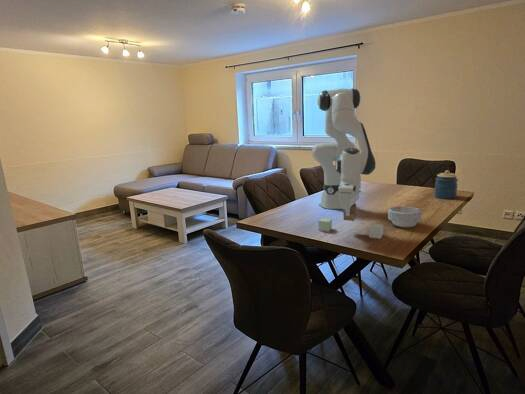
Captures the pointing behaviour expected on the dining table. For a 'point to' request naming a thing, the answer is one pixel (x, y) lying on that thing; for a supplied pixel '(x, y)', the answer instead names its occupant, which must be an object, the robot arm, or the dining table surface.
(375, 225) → the grey cube
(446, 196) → the canister
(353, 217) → the walnut block
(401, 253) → the dining table surface
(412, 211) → the paper bowls
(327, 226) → the sage cube
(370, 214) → the dining table surface
